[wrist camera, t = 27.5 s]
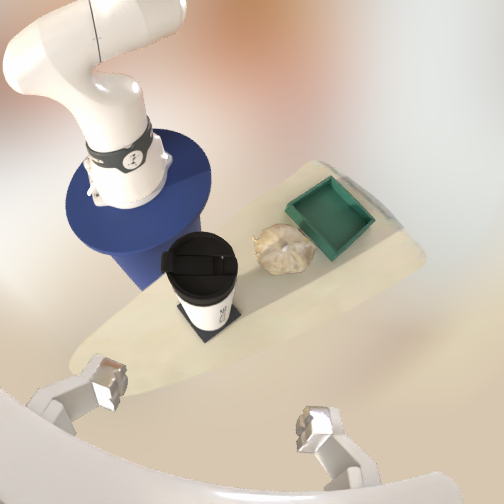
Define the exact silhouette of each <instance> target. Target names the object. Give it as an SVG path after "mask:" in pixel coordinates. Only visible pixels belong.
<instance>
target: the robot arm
mask: <svg viewBox="0 0 504 504" xmlns="http://www.w3.org/2000/svg"><path fill="white" fill-rule="evenodd" d="M186 10H187V5H186V0H78V1H75V2H73V3H70V4H68V5H65V6H63V7H61V8H59V9H56V10H54V11H52V12H50V13H48V14H46V15H44V16H42V17H40V18H39V19H37V20H35V21H34V22H33V23H31V24H30V25H28V26H27V27H26V28H25V29H23V30H22V31H21V32H20V33H18V34H17V35H16V36H15V37H14V38H13V39H11V40H10V42H9V44H8V46H7V49H6V52H5V55H4V60H3V71H4V76H5V79H6V81H7V83H8V84H9V85H10V86H11V88H13V89H14V90H15V91H17V92H19V93H22V94H25V95H41V96H45V97H49V98H52V99H54V100H56V101H58V102H60V103H61V104H63V105H64V106H65V107H67V108H68V109H69V110H70V111H71V113H72V114H73V115H74V117H75V119H76V121H77V122H78V124H79V126H80V128H81V130H82V132H83V134H84V136H85V138H86V147H87V151H88V154H89V156H88V157H87V159H86V160H84V161H83V162H84V166H85V168H86V170H87V171H88V175H89V180H90V186H91V187H90V189H89V191H88V195H90V194H91V192H92V196H93V201H94V203H95V205H96V206H113V207H116V208H120V209H130V208H135V207H139V206H141V205H144V204H146V203H148V202H149V201H151V200H152V199H153V198H155V197H156V196H157V195H158V194H159V193H160V191H161V190H162V188H163V187H164V185H165V182H166V179H167V171H168V169H169V167H170V165H171V164H172V162H173V159H172V156H171V155H170V154H168V153H167V152H166V151H164V148H163V145H162V141H161V138H160V136H157V135H156V134H155V133H153V130H152V124H151V122H150V119H149V117H148V116H147V115H146V110H145V104H144V98H143V92H142V88H141V86H140V84H139V82H138V81H137V80H136V79H134V78H133V77H131V76H128V75H126V74H121V73H106V72H100V71H98V70H96V69H95V67H96V66H97V65H98V64H100V63H102V62H104V61H107V60H109V59H112V58H115V57H117V56H120V55H123V54H126V53H129V52H132V51H135V50H138V49H141V48H145V47H147V46H149V45H151V44H153V43H156V42H158V41H160V40H162V39H164V38H167V37H169V36H171V35H173V34H175V33H176V32H177V31H178V30H179V28H180V27H181V25H182V23H183V21H184V19H185V16H186ZM98 195H99V196H98ZM97 196H98V197H97ZM126 371H127V369H126V365H123V364H121V363H118V362H116V361H113V360H111V359H109V358H106V357H104V356H101V355H99V354H95V355H94V356H93V357H92V359H91V360H90V361H89V363H88V364H87V365H86V367H85V368H84V370H83V371H82V372H81V374H80V375H74V376H72V377H69V378H66V379H64V380H61V381H58V382H56V383H53V384H50V385H47V386H45V387H42V388H39V389H38V390H37V391H36V392H35V394H34V395H33V397H32V398H31V399H30V401H29V402H28V403H27V405H26V406H24V405H23V404H21V403H20V402H19V401H17V400H16V399H14V398H13V397H12V396H11V395H9V394H8V393H7V392H6V391H4V390H3V389H2V388H1V387H0V504H464V502H463V498H462V494H461V491H460V488H459V486H458V484H457V483H456V482H455V481H454V480H452V479H451V478H450V477H448V476H447V475H445V474H444V473H442V472H440V471H436V472H432V473H429V474H425V475H422V476H418V477H414V478H410V479H406V480H402V481H398V482H392V483H387V484H381V479H380V475H379V471H378V467H377V464H376V463H375V462H374V461H373V460H372V459H371V458H370V457H369V456H368V455H367V454H366V453H365V452H364V451H363V450H362V449H361V448H360V447H359V446H358V445H357V444H356V443H355V442H354V441H353V440H352V439H351V438H350V437H349V436H348V435H345V434H344V429H343V425H342V420H341V416H340V411H339V409H338V408H331V407H318V406H306V407H305V408H304V410H303V413H304V414H302V415H300V416H299V418H298V420H297V423H296V434H297V435H298V436H299V438H298V440H297V441H296V442H297V452H300V453H315V454H314V455H315V456H316V457H317V459H318V460H319V462H320V463H321V465H322V466H323V467H324V468H325V470H326V471H327V473H328V474H329V475H330V477H331V478H332V479H333V481H332V482H330V483H329V484H327V485H326V486H325V487H324V491H316V492H285V491H265V490H253V489H244V488H236V487H229V486H223V485H217V484H211V483H205V482H201V481H196V480H191V479H187V478H183V477H179V476H175V475H171V474H168V473H165V472H161V471H158V470H155V469H151V468H148V467H145V466H142V465H139V464H137V463H134V462H131V461H128V460H126V459H123V458H120V457H118V456H116V455H113V454H111V453H108V452H106V451H104V450H102V449H99V448H97V447H95V446H93V445H91V444H89V443H86V442H84V441H83V440H81V439H79V438H77V437H75V435H76V431H75V429H74V427H73V425H72V423H71V422H73V421H74V420H76V419H78V418H80V417H81V416H83V415H85V414H87V413H88V412H90V411H92V410H94V409H95V408H97V407H98V405H99V406H101V407H104V408H106V409H109V410H111V411H114V412H115V411H116V409H117V407H118V405H119V403H120V398H119V397H120V396H122V395H124V393H125V391H126V388H127V385H128V377H127V376H126V374H125V373H126Z"/></svg>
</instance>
